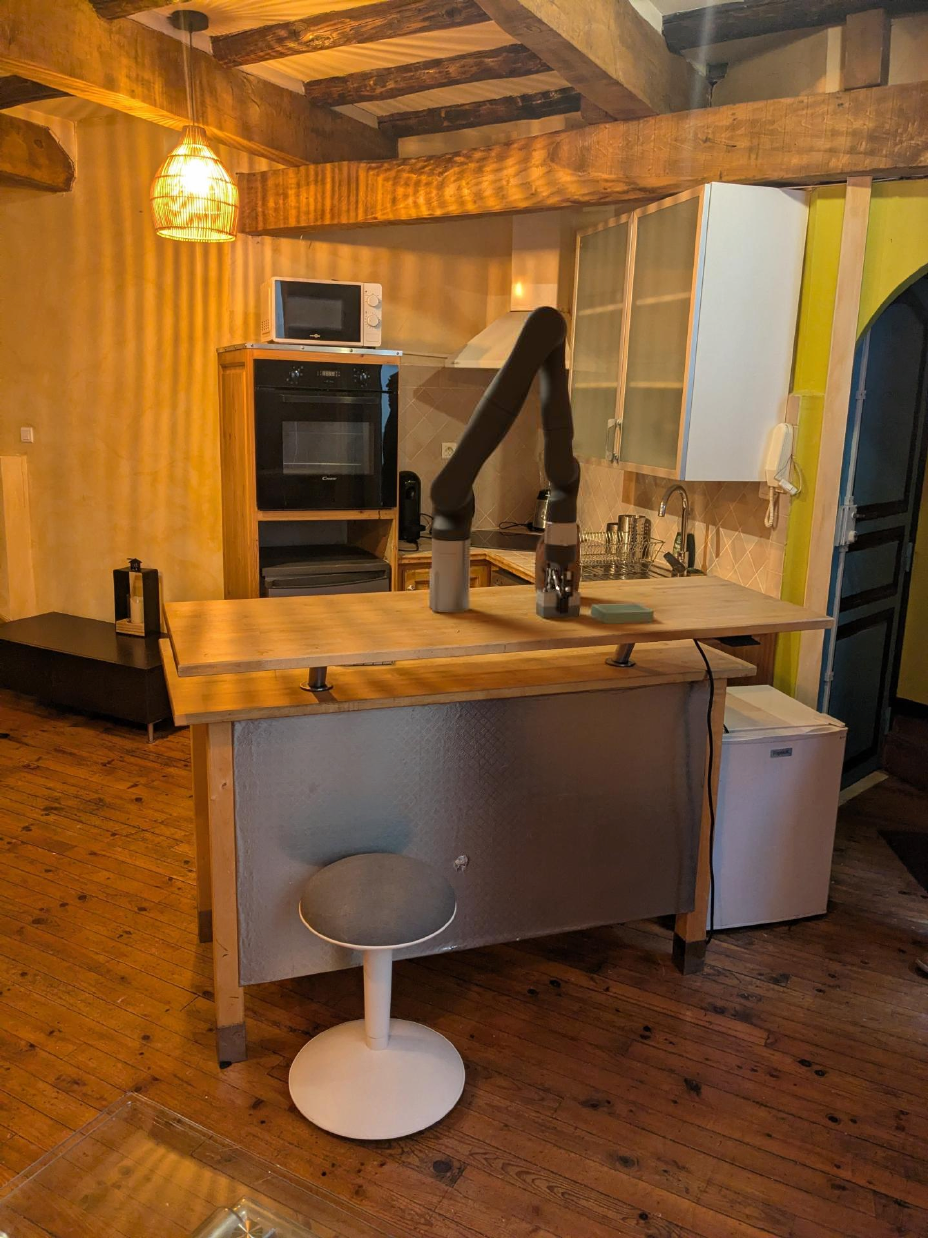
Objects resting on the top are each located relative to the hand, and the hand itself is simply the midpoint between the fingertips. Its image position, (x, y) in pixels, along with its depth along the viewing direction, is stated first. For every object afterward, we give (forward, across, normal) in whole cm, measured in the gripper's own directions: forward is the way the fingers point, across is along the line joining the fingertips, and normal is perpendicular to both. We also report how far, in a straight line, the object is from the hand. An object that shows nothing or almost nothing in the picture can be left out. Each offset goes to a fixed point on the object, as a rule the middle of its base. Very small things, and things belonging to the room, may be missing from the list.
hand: (558, 609), depth 225 cm
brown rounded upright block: (+1, -20, +6) cm, 21 cm away
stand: (+1, +6, +14) cm, 15 cm away
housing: (+1, 0, 0) cm, 1 cm away
